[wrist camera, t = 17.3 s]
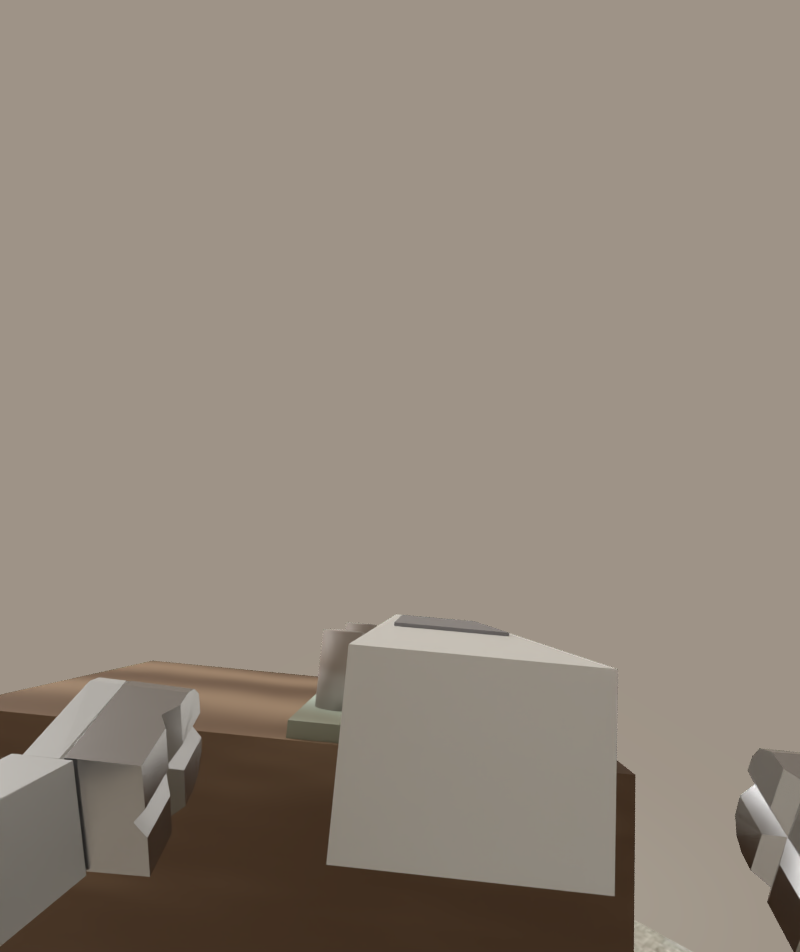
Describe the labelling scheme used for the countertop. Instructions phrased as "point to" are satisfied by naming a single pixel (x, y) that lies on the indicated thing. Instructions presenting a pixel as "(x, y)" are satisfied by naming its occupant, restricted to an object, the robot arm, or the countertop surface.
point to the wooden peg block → (292, 843)
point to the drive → (476, 758)
